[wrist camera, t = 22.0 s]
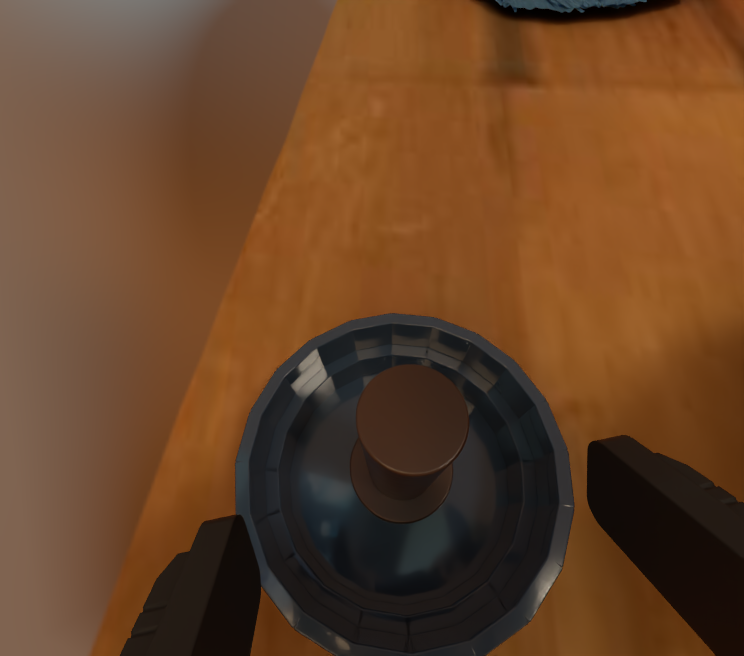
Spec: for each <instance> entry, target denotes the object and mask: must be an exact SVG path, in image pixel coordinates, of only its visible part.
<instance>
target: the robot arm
mask: <svg viewBox="0 0 744 656" xmlns="http://www.w3.org/2000/svg"><path fill="white" fill-rule="evenodd" d="M587 499H588V504H589V507H590V509H591V512H592V514H593V516H594V518H595V519H596V521H597V522H598V524H599V525H600V526H601V527H602V528H603V530H604V531H605V532H606V533H607V534H608V535H609V536H610V537H611V539H612V540H613V541H614V542H615V543H616V544H617V545H618V546H619V547H620V549H621V550H622V551H623V552H624V553H625V554H626V555H627V556H628V558H629V559H630V560H631V561H632V562H633V563H634V564H635V565H636V566H637V568H638V569H639V570H640V571H641V572H642V573H643V574H644V575H645V577H646V578H647V579H648V580H649V581H650V582H651V583H652V584H653V585H654V587H655V588H656V589H657V590H658V591H659V592H660V593H661V594H662V596H663V597H664V598H665V599H666V600H667V601H668V602H669V603H670V605H671V606H672V607H673V608H674V609H675V610H676V611H677V612H678V613H679V615H680V616H681V617H682V618H683V619H684V620H685V621H686V622H687V624H688V625H689V626H690V627H691V628H692V629H693V630H694V631H695V632H696V634H697V635H698V636H699V637H700V638H701V639H702V640H703V641H704V643H705V644H706V645H707V646H708V647H709V648H710V649H711V650H712V651H713V653H714V654H715V655H716V656H744V503H743V502H738V501H737V500H736V498H735V497H734V496H732V495H731V494H729V493H728V492H727V491H725V490H724V489H722V488H721V487H719V486H718V487H716V486H715V485H714V483H713V482H712V481H710V480H709V479H707V478H706V477H704V476H703V475H701V474H700V473H698V472H697V471H696V470H694V469H693V468H691V467H690V466H688V465H686V464H684V463H681V462H679V461H676V460H674V459H672V458H669V457H667V456H665V455H662V454H660V453H653V452H651V451H650V450H649V449H647V448H646V447H644V446H643V445H641V444H640V443H639V442H637V441H636V440H634V439H633V438H631V437H630V436H627V435H621V436H616V437H611V438H606V439H601V440H597V441H592V442H591V443H590V444H589V446H588V457H587ZM260 596H261V576H260V569H259V565H258V562H257V559H256V555H255V552H254V549H253V546H252V543H251V540H250V536H249V533H248V530H247V527H246V524H245V521H244V518H243V517H242V515H240V514H237V515H232V516H227V517H222V518H218V519H213V520H208V521H205V522H203V523H202V524H201V526H200V528H199V530H198V533H197V535H196V537H195V540H194V542H193V545H192V547H191V549H190V551H189V552H184V553H179V554H177V555H176V557H175V558H174V559H173V560H172V561H171V563H170V564H169V565H168V566H167V567H166V568H165V570H164V571H163V572H162V573H161V574H160V576H159V577H158V578H157V579H156V581H155V583H154V585H153V587H152V590H151V592H150V594H149V596H148V598H147V600H146V602H145V604H144V606H143V612H142V613H140V614H139V617H138V619H137V621H136V623H135V625H134V627H133V629H132V631H131V638H128V639H127V641H126V644H125V646H124V648H123V650H122V652H121V654H120V656H250V653H251V647H252V642H253V636H254V631H255V625H256V620H257V614H258V609H259V603H260Z"/></svg>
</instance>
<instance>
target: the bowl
mask: <svg viewBox="0 0 744 656" xmlns="http://www.w3.org/2000/svg"><path fill="white" fill-rule="evenodd" d="M405 364H415V365H422V366H426V367H429V368H432V369H434V370H436V371H438V372H440V373H442V374H443V375H445V376H446V377H447V378H448V379H450V380H451V381H452V382H453V383H454V385H455V386H456V387H457V388H458V390H459V391H460V392H461V394H462V396H463V398H464V400H465V403H466V405H467V409H468V413H469V432H468V437H467V440H466V443H465V445H464V447H463V449H462V451H461V452H460V454H459V456H458V457H457V458H456V459H455V460H454V461H453V479H452V485H451V488H450V491H449V493H448V495H447V498H446V499H445V501H444V502H443V504H442V505H441V506H440V507H439V508H438V509H437V510H436V511H435V512H434V513H433V514H431V515H430V516H428V517H427V518H425V519H423V520H420V521H417V522H414V523H410V524H393V523H389V522H386V521H383V520H381V519H379V518H378V517H376V516H375V515H373V514H372V513H371V512H370V511H369V510H368V509H367V508H366V507H365V506H364V505H363V504H362V502H361V501H360V499H359V498H358V496H357V494H356V492H355V490H354V488H353V485H352V481H351V477H350V458H351V453H352V450H353V447H354V445H355V443H356V441H357V439H358V437H359V436H358V432H357V428H356V409H357V404H358V401H359V398H360V396H361V394H362V392H363V390H364V389H365V387H366V386H367V384H368V383H369V382H370V381H371V380H372V379H373V378H374V377H375V376H377V375H378V374H379V373H381V372H383V371H385V370H386V369H389V368H391V367H394V366H398V365H405ZM235 496H236V515H237V514H240V515H242V517H243V518H244V521H245V524H246V527H247V530H248V533H249V536H250V540H251V543H252V546H253V549H254V552H255V555H256V559H257V562H258V565H259V569H260V576H261V587H262V588H263V589H264V591H265V592H266V593H267V595H268V596H269V597H270V599H271V600H272V601H273V603H274V604H275V605H276V607H277V608H278V609H279V611H280V612H281V613H282V615H283V616H284V617H285V619H286V620H287V621H288V623H289V624H290V625H291V627H292V628H294V629H295V631H297V632H299V633H300V634H302V635H303V636H305V637H306V638H308V639H309V640H311V641H313V642H314V643H316V644H317V645H319V646H320V647H322V648H323V649H325V650H327V651H328V652H330V653H331V654H333V655H334V656H486V655H487V654H488V653H490V652H491V651H492V650H494V649H495V648H496V647H498V646H499V645H500V644H502V643H503V642H504V641H506V640H507V639H508V638H510V637H511V636H512V635H514V634H515V633H516V632H518V631H519V630H520V629H522V628H523V627H524V626H526V625H527V624H528V623H529V622H530V621H531V620H532V618H533V617H534V615H535V613H536V612H537V610H538V608H539V607H540V605H541V603H542V602H543V600H544V599H545V597H546V595H547V594H548V592H549V590H550V589H551V587H552V585H553V584H554V582H555V580H556V579H557V577H558V575H559V574H560V572H561V570H562V567H563V564H564V559H565V554H566V549H567V544H568V539H569V534H570V529H571V524H572V519H573V514H574V507H575V506H574V497H573V488H572V480H571V471H570V462H569V453H568V451H567V447H566V444H565V442H564V440H563V437H562V435H561V433H560V430H559V428H558V426H557V423H556V421H555V418H554V416H553V414H552V411H551V409H550V407H549V404H548V402H547V401H546V399H545V398H544V396H543V395H542V394H541V393H540V391H539V390H538V389H537V388H536V386H535V385H534V384H533V383H532V381H531V380H530V379H529V378H528V376H527V375H526V374H525V373H524V371H523V370H522V369H521V368H520V366H519V365H518V364H517V363H516V362H515V361H514V360H513V359H512V358H510V357H509V356H508V355H506V354H505V353H504V352H502V351H501V350H499V349H498V348H497V347H495V346H494V345H493V344H491V343H490V342H488V341H487V340H486V339H484V338H483V337H482V336H480V335H479V334H476V333H475V332H472V331H470V330H467V329H464V328H462V327H459V326H456V325H454V324H451V323H449V322H446V321H443V320H441V319H438V318H434V317H427V316H416V315H406V314H395V313H392V314H391V313H390V314H384V315H379V316H373V317H368V318H362V319H356V320H351V321H350V322H349V321H348V322H346V323H344V324H342V325H340V326H338V327H336V328H334V329H332V330H329V331H327V332H325V333H323V334H321V335H319V336H317V337H315V338H313V339H311V340H309V341H308V342H307V343H306V344H305V345H303V346H302V347H301V348H300V349H299V350H298V351H297V352H296V353H294V354H293V355H292V356H291V357H290V358H289V359H288V360H287V361H285V362H284V363H283V364H282V365H281V366H280V367H279V368H278V369H277V370H276V371H275V373H274V374H273V376H272V377H271V379H270V380H269V382H268V384H267V385H266V387H265V388H264V390H263V392H262V393H261V395H260V396H259V398H258V399H257V401H256V403H255V404H254V406H253V407H252V409H251V412H250V413H249V416H248V419H247V423H246V426H245V430H244V433H243V437H242V440H241V444H240V447H239V451H238V454H237V458H236V463H235ZM528 621H529V622H528Z"/></svg>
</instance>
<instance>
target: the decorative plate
mask: <svg viewBox="0 0 744 656" xmlns="http://www.w3.org/2000/svg"><path fill="white" fill-rule="evenodd" d="M495 1H497V2H498V3H499V5H503V6H504V7H505V8H506V7H508V6H509V5H511V6H512V8H513V10H514V12H517V8H526V9H528V10H531V9H533V8H535V7H537V8H540V9H546V8H548V9H551V10H555V11H559V12H561V13H563V12H565V11H566V12H569V13H570V12H571V11H572V10H573V9H574V8H575V9H577V10H578V11H580V12H581V13H582V12H584V10H582V9H581V8H584V9H587V8H589V7H591V6H596V7H598V8H599V7H600V6H603V7H605V6H607V7H613V8H616V9H617V8H619V7H622V8H624V7H625V6H626V5H627V4H629V5H631V6H633V7H634V6H636V4H634V3H636V2H639V1H642V2H647V0H495ZM579 7H581V8H579Z"/></svg>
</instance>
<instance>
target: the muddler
mask: <svg viewBox="0 0 744 656" xmlns="http://www.w3.org/2000/svg"><path fill="white" fill-rule="evenodd" d="M356 428H357V432H358V436H359V437H358V439H357V441H356V443H355V445H354V447H353V450H352V453H351V458H350V477H351V481H352V485H353V488H354V490H355V492H356V494H357V496H358V498H359V499H360V501H361V502H362V504H363V505H364V506H365V507H366V508H367V509H368V510H369V511H370V512H371V513H372V514H373V515H375V516H376V517H378V518H379V519H381V520H383V521H386V522H389V523H393V524H410V523H414V522H417V521H420V520H423V519H425V518H427V517H428V516H430V515H431V514H433V513H434V512H435V511H436V510H437V509H438V508H439V507H440V506H441V505H442V504H443V502H444V501H445V499H446V498H447V495H448V493H449V491H450V488H451V485H452V479H453V461H454V460H455V459H456V458H457V457H458V456H459V454H460V452H461V451H462V449H463V447H464V445H465V443H466V440H467V437H468V432H469V413H468V409H467V405H466V403H465V400H464V398H463V396H462V394H461V392H460V391H459V390H458V388H457V387H456V386H455V385H454V383H453V382H452V381H451V380H450V379H448V378H447V377H446V376H445V375H443V374H442V373H440V372H438V371H436V370H434V369H432V368H429V367H426V366H422V365H415V364H405V365H398V366H394V367H391V368H389V369H386V370H385V371H383V372H381V373H379V374H378V375H377V376H375V377H374V378H373V379H372V380H371V381H370V382H369V383H368V384H367V386H366V387H365V389H364V390H363V392H362V394H361V396H360V398H359V401H358V404H357V409H356Z"/></svg>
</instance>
